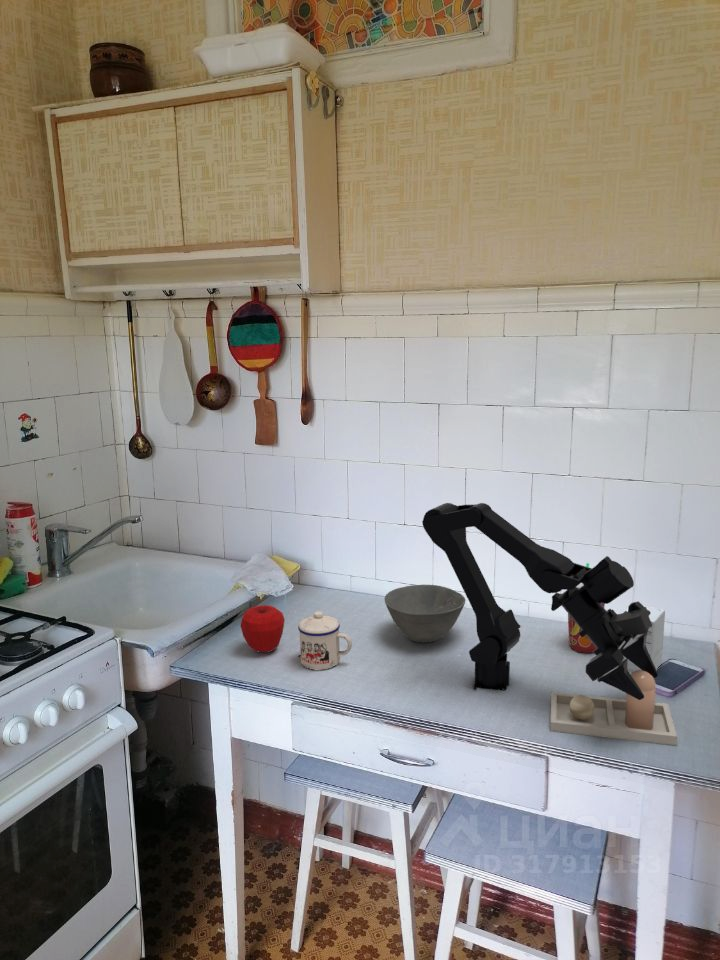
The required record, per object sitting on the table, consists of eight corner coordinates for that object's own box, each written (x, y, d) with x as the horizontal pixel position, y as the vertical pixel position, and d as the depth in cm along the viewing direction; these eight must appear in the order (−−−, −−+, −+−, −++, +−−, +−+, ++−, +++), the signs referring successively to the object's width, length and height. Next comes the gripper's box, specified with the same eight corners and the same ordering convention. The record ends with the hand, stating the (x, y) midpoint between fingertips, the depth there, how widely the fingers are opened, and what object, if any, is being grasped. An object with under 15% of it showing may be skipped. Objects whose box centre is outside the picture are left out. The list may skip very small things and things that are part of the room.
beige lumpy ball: (569, 723, 132) (570, 701, 131) (568, 710, 136) (569, 689, 135) (594, 725, 131) (595, 703, 130) (593, 713, 135) (594, 691, 134)
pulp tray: (550, 733, 130) (550, 722, 129) (550, 702, 140) (551, 691, 139) (676, 748, 124) (677, 736, 124) (667, 715, 134) (667, 703, 134)
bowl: (478, 649, 163) (478, 607, 161) (398, 660, 159) (397, 618, 157) (448, 617, 181) (448, 579, 179) (376, 627, 177) (375, 588, 175)
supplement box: (627, 655, 158) (630, 601, 156) (662, 665, 154) (666, 609, 151) (615, 668, 153) (618, 612, 150) (651, 678, 148) (655, 621, 145)
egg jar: (622, 726, 130) (624, 674, 128) (628, 714, 134) (630, 663, 131) (650, 734, 127) (653, 681, 125) (655, 721, 131) (658, 669, 129)
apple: (235, 656, 163) (232, 611, 161) (254, 639, 172) (251, 596, 170) (275, 662, 160) (272, 616, 158) (292, 643, 169) (290, 600, 166)
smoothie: (581, 636, 168) (585, 555, 164) (611, 649, 161) (615, 564, 157) (557, 645, 164) (559, 562, 159) (586, 659, 157) (590, 572, 153)
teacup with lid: (293, 668, 157) (290, 618, 154) (309, 650, 165) (307, 602, 163) (345, 675, 153) (343, 624, 150) (359, 657, 161) (357, 608, 159)
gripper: (607, 610, 120) (672, 689, 116) (638, 577, 135) (698, 646, 131) (559, 643, 127) (620, 718, 123) (595, 608, 141) (650, 674, 137)
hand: (649, 687), depth 128 cm, fingers open, 9 cm apart
